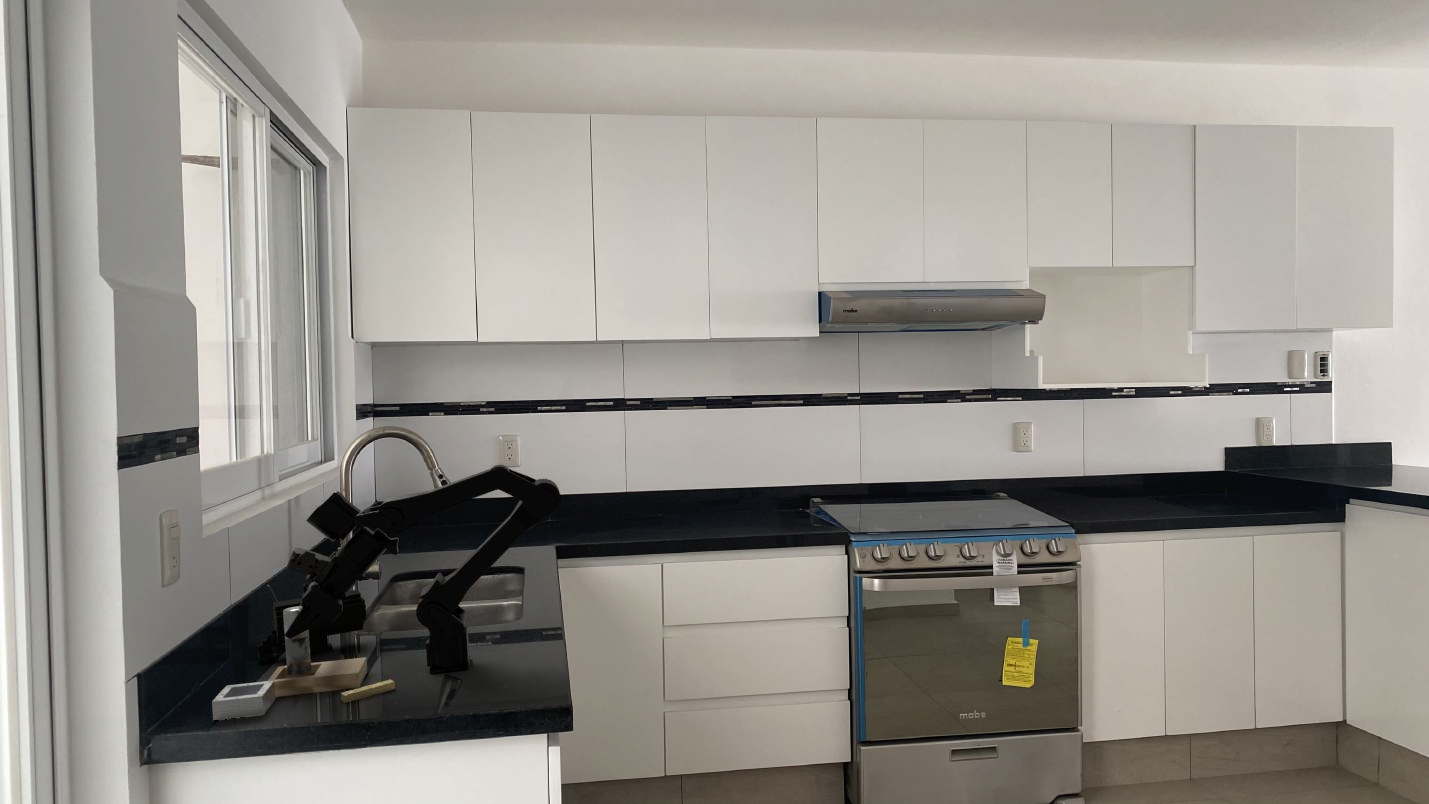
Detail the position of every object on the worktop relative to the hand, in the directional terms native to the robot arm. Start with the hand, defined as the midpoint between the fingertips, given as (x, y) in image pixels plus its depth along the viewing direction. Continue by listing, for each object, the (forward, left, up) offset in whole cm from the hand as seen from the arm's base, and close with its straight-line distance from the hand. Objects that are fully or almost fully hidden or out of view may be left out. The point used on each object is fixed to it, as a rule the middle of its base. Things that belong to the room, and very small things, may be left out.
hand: (287, 633), depth 149 cm
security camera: (0, -20, -9) cm, 22 cm away
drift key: (-13, +8, -9) cm, 18 cm away
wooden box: (-4, 0, -9) cm, 10 cm away
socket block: (+5, +8, -9) cm, 13 cm away
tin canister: (-1, 0, -7) cm, 7 cm away
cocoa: (+5, -26, -9) cm, 28 cm away
